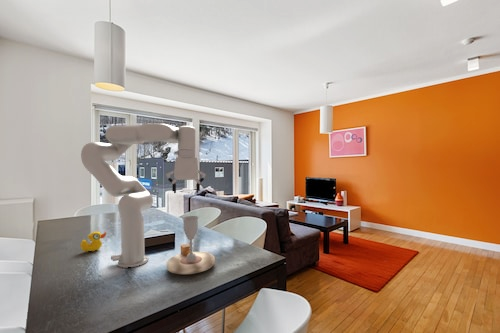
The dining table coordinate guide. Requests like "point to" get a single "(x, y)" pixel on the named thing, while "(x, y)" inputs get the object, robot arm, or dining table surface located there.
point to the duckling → (93, 242)
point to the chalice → (190, 234)
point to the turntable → (183, 267)
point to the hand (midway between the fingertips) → (186, 192)
